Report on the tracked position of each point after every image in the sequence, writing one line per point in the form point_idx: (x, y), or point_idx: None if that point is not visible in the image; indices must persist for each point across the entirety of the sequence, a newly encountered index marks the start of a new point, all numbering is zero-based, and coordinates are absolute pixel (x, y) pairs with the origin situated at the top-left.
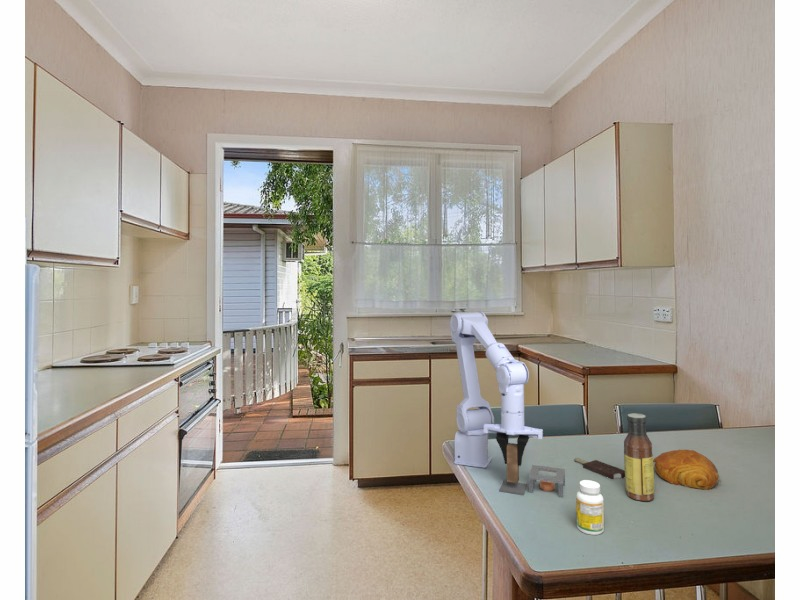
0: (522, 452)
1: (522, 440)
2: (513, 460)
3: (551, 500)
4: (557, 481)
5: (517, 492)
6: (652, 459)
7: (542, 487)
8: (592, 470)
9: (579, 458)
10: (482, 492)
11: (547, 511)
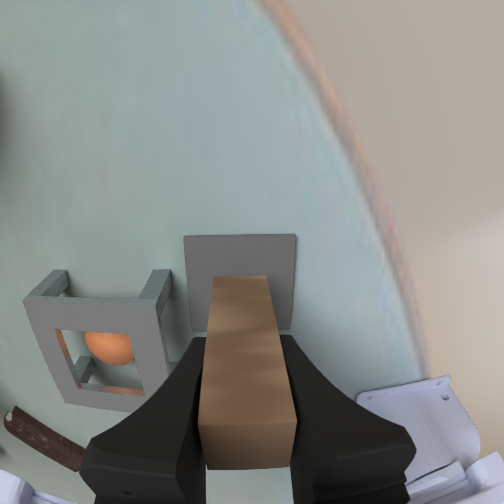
0: (156, 391)
1: (113, 467)
2: (233, 346)
3: (78, 232)
4: (40, 299)
5: (212, 239)
6: None
7: None
8: (64, 439)
9: None
10: (362, 199)
11: (74, 130)
